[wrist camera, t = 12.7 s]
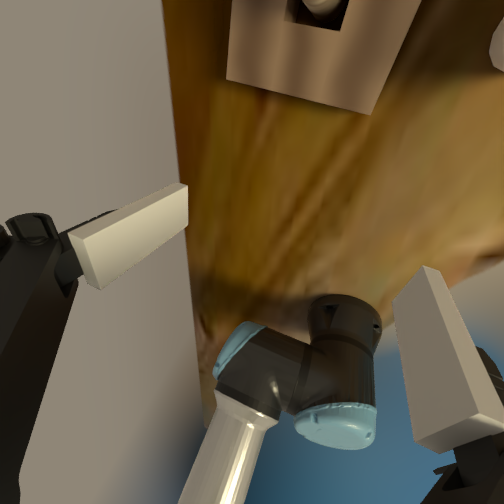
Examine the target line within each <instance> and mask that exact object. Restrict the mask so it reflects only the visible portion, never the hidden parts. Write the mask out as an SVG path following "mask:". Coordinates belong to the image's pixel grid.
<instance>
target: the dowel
mask: <svg viewBox="0 0 504 504" xmlns="http://www.w3.org/2000/svg"><path fill="white" fill-rule="evenodd" d="M302 1H303V2H304V4H305V5H306V6H307V8H308V9H309V10H310V12H311V13H312V15H313V16H314V17H315V18H316V19H317V20H318V21H320V22H323V23H326V22H330V21H332V20H334V19H335V18H336V17H337V16H338V15H339V14H340V13H341V12H342V10H343V8H344V7H345V4H346V2H347V0H302Z"/></svg>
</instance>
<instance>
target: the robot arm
mask: <svg viewBox="0 0 504 504" xmlns="http://www.w3.org/2000/svg"><path fill="white" fill-rule="evenodd" d="M5 223H6V225H7V227H8V229H9V230H10V232H11V234H12V235H13V236H10V235H8V234H7V232H6V230H5V229H4V227H3V226H1V225H0V504H20V487H19V473H20V468H21V465H22V462H23V459H24V455H25V452H26V449H27V446H28V443H29V440H30V437H31V433H32V430H33V427H34V424H35V421H36V418H37V414H38V411H39V408H40V405H41V402H42V398H43V395H44V392H45V389H46V386H47V383H48V379H49V376H50V373H51V370H52V367H53V364H54V361H55V357H56V354H57V351H58V348H59V345H60V342H61V339H62V335H63V332H64V329H65V326H66V323H67V320H68V316H69V313H70V310H71V307H72V304H73V301H74V297H75V294H76V291H77V288H78V279H77V278H78V277H80V276H81V275H83V274H84V276H85V279H86V281H87V284H89V285H91V286H93V287H95V288H97V289H99V290H102V289H103V288H105V287H106V286H107V285H108V284H110V283H111V282H113V281H114V280H115V279H117V278H118V277H119V276H121V275H122V274H123V273H125V272H126V271H127V270H129V269H130V268H131V267H133V266H134V265H135V264H137V263H138V262H139V261H141V260H142V259H143V258H145V257H146V256H147V255H149V254H150V253H151V252H153V251H154V250H155V249H157V248H158V247H159V246H161V245H162V244H163V243H165V242H166V241H167V240H169V239H170V238H171V237H173V236H174V235H175V234H177V233H178V232H180V231H181V230H182V229H184V228H185V227H186V226H188V186H187V185H184V184H181V183H178V182H176V183H174V184H172V185H170V186H167V187H165V188H163V189H161V190H159V191H156V192H154V193H152V194H150V195H148V196H146V197H144V198H141V199H139V200H137V201H135V202H133V203H131V204H128V205H126V206H124V207H122V208H120V209H116V210H112V211H108V212H105V213H103V214H101V215H99V216H98V217H94V218H92V219H90V220H89V221H85V222H83V223H81V224H79V225H76V226H74V227H72V228H70V229H68V230H66V231H63V232H61V233H59V234H58V232H57V230H56V227H55V225H54V223H53V220H52V218H51V217H50V216H49V215H47V214H43V213H26V214H22V215H17V216H15V217H13V218H10V219H9V220H7V221H6V222H5ZM392 307H393V314H394V320H395V326H396V332H397V337H398V344H399V351H400V356H401V363H402V369H403V375H404V381H405V387H406V393H407V400H408V406H409V412H410V418H411V424H412V430H413V437H414V442H416V443H418V444H420V445H422V446H424V447H426V448H428V449H430V450H432V451H434V452H436V453H438V454H441V453H443V452H447V451H450V450H452V449H453V450H454V454H455V458H456V461H457V463H453V464H450V465H447V466H443V467H440V468H437V469H435V470H433V472H434V473H435V474H436V475H438V474H442V473H443V475H442V476H441V477H440V479H439V480H438V481H437V483H436V484H435V485H434V487H433V488H432V489H431V491H430V492H429V493H428V494H427V496H426V497H425V498H424V500H423V501H422V502H421V503H420V504H504V382H503V381H502V380H503V378H502V376H501V374H500V372H499V370H498V368H497V366H496V364H495V363H494V362H493V360H491V358H490V357H489V356H488V355H487V353H486V352H485V351H484V350H483V349H482V348H479V347H476V346H475V345H474V343H473V341H472V339H471V337H470V335H469V332H468V330H467V328H466V326H465V324H464V322H463V320H462V318H461V315H460V313H459V311H458V309H457V307H456V305H455V303H454V301H453V298H452V297H451V294H450V292H449V290H448V288H447V286H446V283H445V281H444V279H443V277H442V275H441V273H440V271H438V270H435V269H432V268H429V267H426V266H423V265H422V267H421V268H420V269H419V270H418V271H417V273H416V274H415V275H414V276H413V277H412V278H411V280H410V281H409V282H408V283H407V284H406V286H405V287H404V288H403V289H402V290H401V292H400V293H399V294H398V295H397V296H396V297H395V299H394V300H393V301H392ZM307 322H308V328H309V334H310V341H311V343H310V345H309V344H307V343H304V342H302V341H299V340H297V339H295V338H292V337H290V336H287V335H285V334H282V333H280V332H277V331H275V330H273V329H270V328H268V326H266V325H264V326H262V325H260V324H257V323H254V322H251V321H246V322H243V323H241V324H240V325H239V326H238V327H237V328H236V329H235V330H234V331H233V333H232V334H231V335H230V337H229V338H228V340H227V341H226V343H225V345H224V346H223V348H222V350H221V352H220V354H219V356H218V358H217V362H216V364H215V366H214V368H213V376H214V377H215V379H216V380H218V383H217V385H216V388H215V390H214V393H215V396H216V400H217V409H216V411H215V414H214V416H213V418H212V421H211V423H210V426H209V428H208V431H207V433H206V436H205V438H204V440H203V443H202V445H201V448H200V450H199V453H198V455H197V458H196V460H195V463H194V465H193V467H192V470H191V472H190V475H189V477H188V480H187V482H186V485H185V487H184V489H183V492H182V495H181V497H180V499H179V502H178V504H244V501H245V498H246V494H247V491H248V488H249V484H250V481H251V477H252V474H253V470H254V467H255V464H256V461H257V457H258V454H259V451H260V447H261V444H262V440H263V437H264V434H265V431H266V430H267V429H268V428H270V427H271V426H273V425H275V424H277V423H278V421H279V417H280V413H281V411H284V412H287V413H289V414H291V415H293V416H294V426H295V429H296V430H297V432H298V433H299V434H302V435H303V436H304V437H305V438H307V439H309V440H311V441H313V442H315V443H318V444H321V445H324V446H328V447H332V448H337V449H345V450H357V449H363V448H365V447H368V446H369V445H370V444H371V443H372V442H373V441H374V438H375V425H376V415H377V410H376V404H375V384H374V362H373V356H374V353H375V351H376V348H377V346H378V343H379V341H380V338H381V335H382V322H381V318H380V316H379V314H378V313H377V311H376V310H375V309H374V308H373V307H372V306H370V305H369V304H367V303H366V302H364V301H362V300H360V299H357V298H354V297H350V296H345V295H329V296H325V297H322V298H319V299H318V300H316V301H315V302H314V303H313V304H312V305H311V306H310V309H309V313H308V318H307Z"/></svg>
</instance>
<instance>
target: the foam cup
mask: <svg viewBox="0 0 504 504" xmlns="http://www.w3.org/2000/svg"><path fill="white" fill-rule="evenodd" d="M489 55H490V58H491V61H492V64H493V66H494V67H496V68H497V69H499V70H501V71H503V72H504V17H503V19H502V21H501V22H500V24H499V25H498V27H497V29H496V30H495V32H494V33H493V36H492V40H491V45H490V49H489Z"/></svg>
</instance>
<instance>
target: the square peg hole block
mask: <svg viewBox="0 0 504 504" xmlns="http://www.w3.org/2000/svg"><path fill="white" fill-rule="evenodd" d="M420 2H421V0H349V3H348V7H347V10H346V13H345V17H344V20H343V23H342V26H341V30H340V32H339V31H334V30H329V29H323V28H318V27H313V26H307V25H302V24H297V23H296V18H297V13H298V9H299V4H300V0H232V11H231V24H230V37H229V50H228V62H227V75H226V79H227V80H231V81H235V82H239V83H243V84H247V85H251V86H255V87H259V88H263V89H267V90H271V91H275V92H279V93H283V94H287V95H291V96H295V97H299V98H303V99H307V100H311V101H315V102H319V103H323V104H327V105H331V106H335V107H339V108H343V109H347V110H351V111H355V112H359V113H363V114H367V115H371V113H372V111H373V108H374V106H375V104H376V102H377V99H378V97H379V95H380V93H381V90H382V88H383V86H384V84H385V81H386V79H387V77H388V75H389V72H390V70H391V68H392V66H393V63H394V61H395V59H396V57H397V54H398V52H399V50H400V48H401V45H402V43H403V41H404V39H405V36H406V34H407V32H408V30H409V27H410V25H411V23H412V21H413V18H414V16H415V14H416V11H417V9H418V7H419V5H420Z"/></svg>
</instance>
